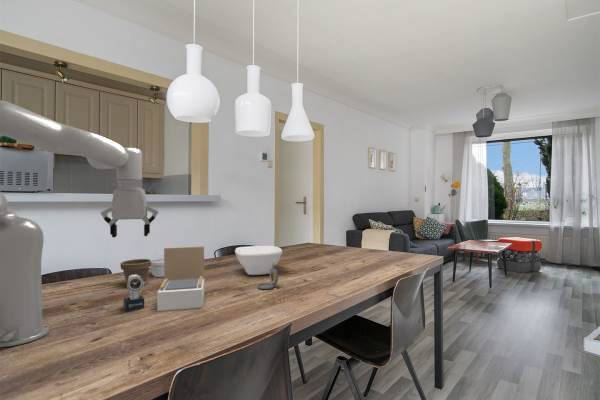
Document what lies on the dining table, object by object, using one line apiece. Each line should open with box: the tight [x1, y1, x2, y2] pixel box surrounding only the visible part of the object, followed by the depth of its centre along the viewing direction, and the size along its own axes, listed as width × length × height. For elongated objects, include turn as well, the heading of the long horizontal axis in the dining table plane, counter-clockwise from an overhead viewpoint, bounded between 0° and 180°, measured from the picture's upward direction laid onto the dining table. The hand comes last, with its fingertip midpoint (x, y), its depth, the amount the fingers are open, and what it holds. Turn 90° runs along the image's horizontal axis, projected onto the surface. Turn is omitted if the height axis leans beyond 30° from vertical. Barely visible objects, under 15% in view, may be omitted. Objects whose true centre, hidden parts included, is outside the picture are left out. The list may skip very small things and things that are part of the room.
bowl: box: [234, 245, 284, 276], centre depth 157 cm, size 22×22×12 cm
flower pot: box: [119, 258, 152, 286], centre depth 137 cm, size 12×11×10 cm
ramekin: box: [150, 257, 164, 278], centre depth 156 cm, size 13×13×7 cm
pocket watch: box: [257, 262, 279, 290], centre depth 133 cm, size 8×8×10 cm
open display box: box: [156, 246, 205, 312], centre depth 116 cm, size 16×14×18 cm
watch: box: [123, 274, 146, 312], centre depth 109 cm, size 6×8×11 cm
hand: (130, 236), depth 110 cm, fingers open, 9 cm apart
